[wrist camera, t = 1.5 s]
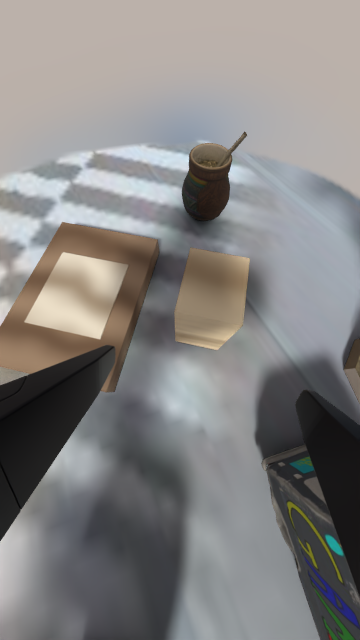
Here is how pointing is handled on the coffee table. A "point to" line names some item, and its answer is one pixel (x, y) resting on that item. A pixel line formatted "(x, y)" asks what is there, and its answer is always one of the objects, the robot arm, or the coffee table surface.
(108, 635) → the coffee table surface
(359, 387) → the book stand
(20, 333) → the loading dock
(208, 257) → the tan rectangular block
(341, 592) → the toy van
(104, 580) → the coffee table surface
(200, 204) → the mate gourd
